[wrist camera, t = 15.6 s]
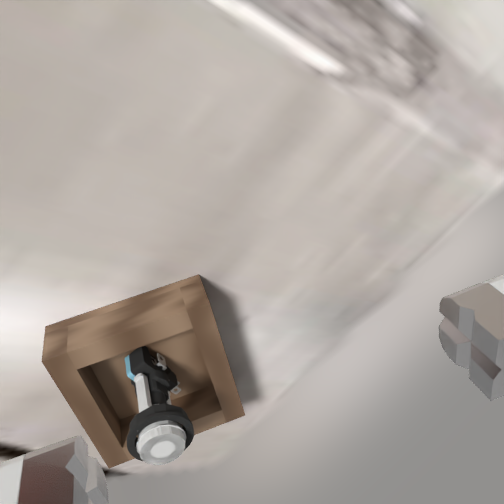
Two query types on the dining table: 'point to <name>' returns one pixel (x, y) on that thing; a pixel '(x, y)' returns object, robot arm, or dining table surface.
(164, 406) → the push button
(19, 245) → the dining table surface
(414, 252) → the dining table surface
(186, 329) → the wooden tray
